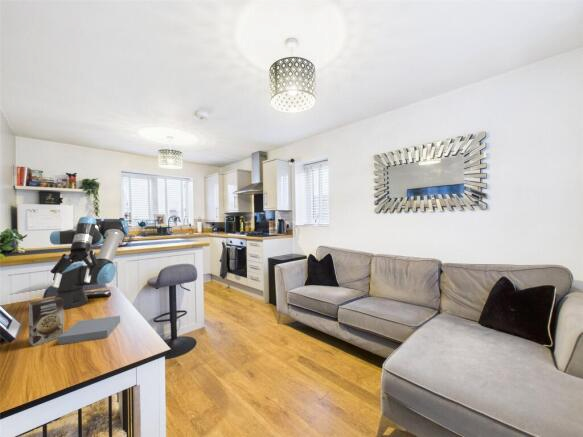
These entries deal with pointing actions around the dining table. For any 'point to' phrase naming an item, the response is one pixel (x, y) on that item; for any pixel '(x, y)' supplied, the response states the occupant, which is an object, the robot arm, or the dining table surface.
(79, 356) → the dining table surface
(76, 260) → the robot arm
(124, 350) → the dining table surface
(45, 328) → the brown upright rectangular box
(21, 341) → the dining table surface
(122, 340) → the dining table surface
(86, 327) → the base board
